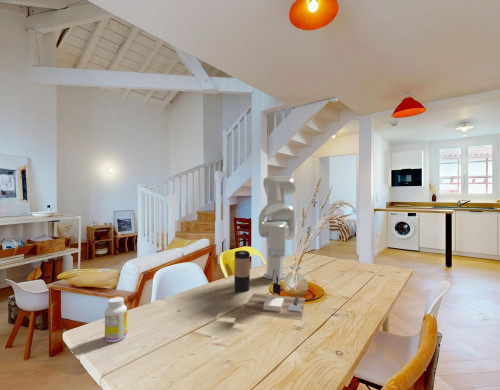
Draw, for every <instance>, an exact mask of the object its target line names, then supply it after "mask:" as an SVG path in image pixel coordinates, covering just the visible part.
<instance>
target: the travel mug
mask: <svg viewBox="0 0 500 390" xmlns="http://www.w3.org/2000/svg"><path fill="white" fill-rule="evenodd" d="M250 253H251V252H249V251H247V250H237V251H236V250H235V252H234V267H233V270H234V274H233V275H234V277H233V278H234V294H235V293H236V294H237V293H247V292H248V291H250V282H251V281H250V278H251V276H250V273H251V272H250V271H251V269H250V266H251V265H250V261H251V259H250V258H251V257H250V255H251V254H250Z"/></svg>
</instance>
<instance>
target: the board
mask: <svg viewBox="0 0 500 390" xmlns="http://www.w3.org/2000/svg"><path fill="white" fill-rule="evenodd" d="M268 297H276V298H284V304H283V307H282V310H281V312H279V311H271V310H264V303H265V301H266V299H267V298H268ZM294 300H295V296H287V295H279V294H268V293H257V292H254V293H253V294H251V296H250V298H249V299H248V301H247V302H246V303H245V305H244V306H243V308H242V309H241V310H240V313H242V314H250V315H251V314H252V315H258V316H265V317H273V318H282V319H288V320H296V321H297V320H298V321H302V318H303V312H304V306H305V301H306V298H305V297H299V299H298V304H297V305H301V310H300V312H292V311H287V310H288V307H289V304H294Z"/></svg>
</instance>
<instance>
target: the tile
mask: <svg viewBox="0 0 500 390" xmlns="http://www.w3.org/2000/svg"><path fill="white" fill-rule="evenodd" d="M283 304H284V298H276V297H268V298H267V299H266V301H265V303H264V310H271V311H279V312H281V310H282V307H283Z"/></svg>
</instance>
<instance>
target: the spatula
mask: <svg viewBox="0 0 500 390" xmlns="http://www.w3.org/2000/svg"><path fill="white" fill-rule="evenodd" d="M294 297H295V300H294V304H289V307H288V310H287V311H292V312H300V310H301V305H297V304H298V299H299V298H300V295H295V296H294Z"/></svg>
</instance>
